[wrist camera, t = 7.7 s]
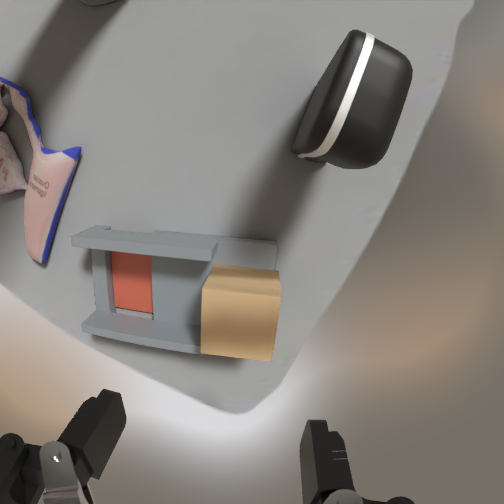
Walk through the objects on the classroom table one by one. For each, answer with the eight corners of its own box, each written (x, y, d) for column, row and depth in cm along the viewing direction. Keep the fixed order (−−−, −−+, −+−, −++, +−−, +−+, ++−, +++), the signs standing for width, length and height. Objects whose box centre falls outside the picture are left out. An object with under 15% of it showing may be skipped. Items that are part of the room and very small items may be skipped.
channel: (96, 225, 25) (70, 236, 21) (276, 241, 24) (278, 256, 20) (103, 311, 27) (82, 331, 23) (265, 334, 27) (265, 361, 23)
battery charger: (332, 174, 23) (388, 182, 12) (287, 154, 22) (307, 143, 11) (362, 98, 21) (431, 53, 10) (319, 77, 21) (359, 13, 10)
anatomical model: (52, 261, 27) (102, 125, 23) (36, 270, 24) (85, 122, 20) (-38, 182, 24) (-4, 72, 21) (-53, 185, 22) (-20, 69, 18)
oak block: (214, 264, 24) (202, 288, 19) (278, 270, 24) (281, 297, 19) (212, 319, 25) (200, 353, 20) (271, 326, 25) (271, 361, 20)
